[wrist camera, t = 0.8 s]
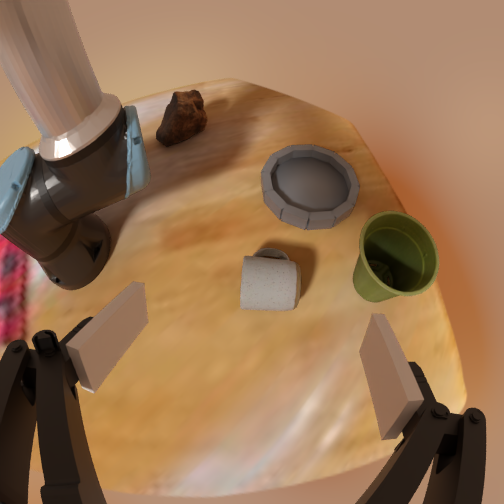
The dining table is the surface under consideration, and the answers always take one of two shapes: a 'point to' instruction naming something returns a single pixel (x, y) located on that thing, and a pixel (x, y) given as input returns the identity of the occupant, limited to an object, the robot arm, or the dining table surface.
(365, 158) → the dining table surface
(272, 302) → the ceramic mug
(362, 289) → the plant pot
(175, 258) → the dining table surface
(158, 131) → the decorative rock
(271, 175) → the round tray
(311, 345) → the dining table surface
